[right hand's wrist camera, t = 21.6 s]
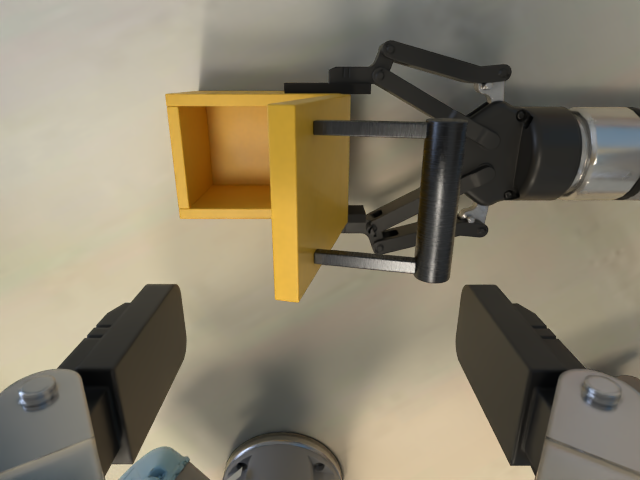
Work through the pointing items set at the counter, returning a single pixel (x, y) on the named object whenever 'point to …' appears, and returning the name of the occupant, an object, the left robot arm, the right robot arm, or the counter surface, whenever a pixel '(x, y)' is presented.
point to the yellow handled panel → (332, 191)
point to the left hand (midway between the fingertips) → (287, 154)
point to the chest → (223, 152)
